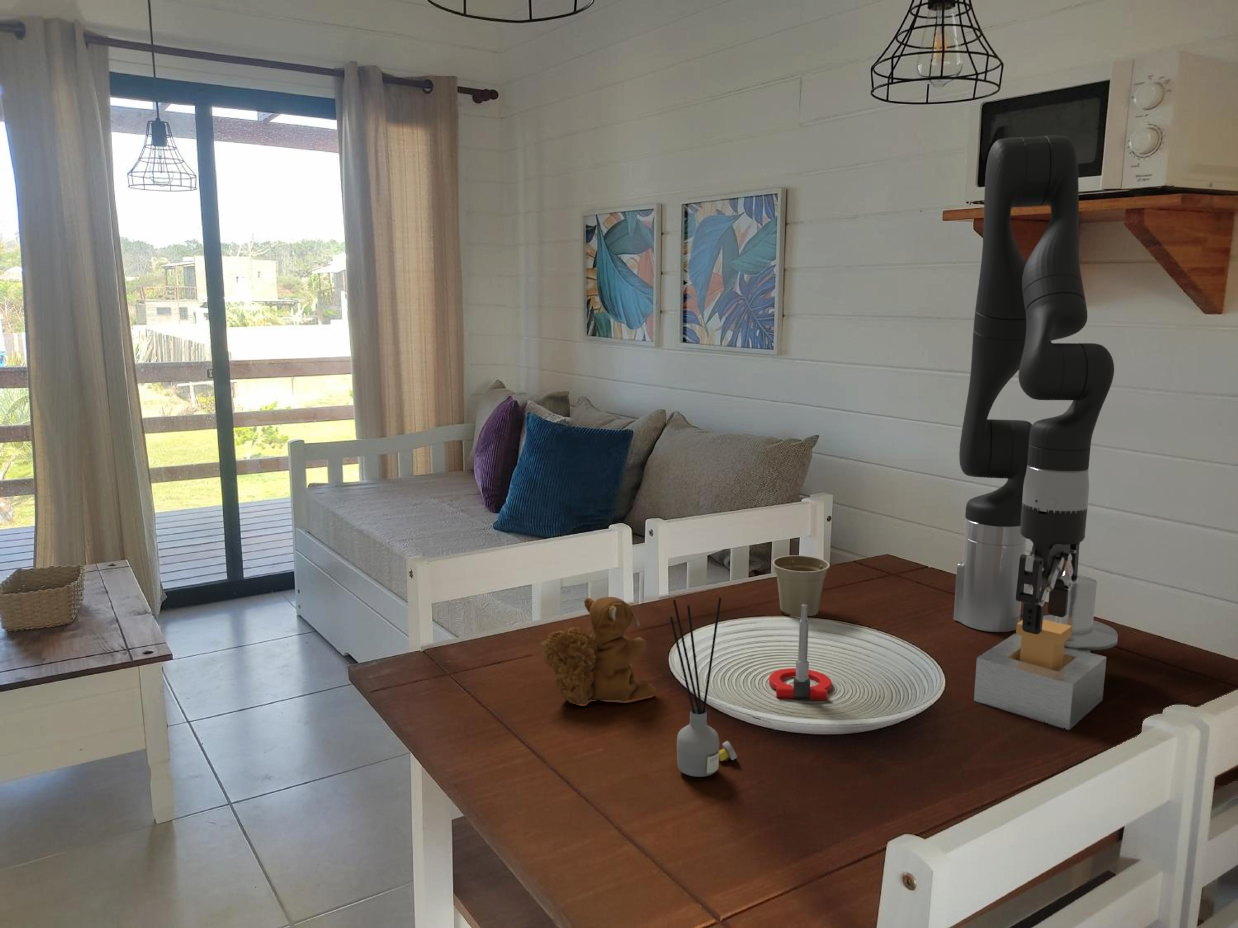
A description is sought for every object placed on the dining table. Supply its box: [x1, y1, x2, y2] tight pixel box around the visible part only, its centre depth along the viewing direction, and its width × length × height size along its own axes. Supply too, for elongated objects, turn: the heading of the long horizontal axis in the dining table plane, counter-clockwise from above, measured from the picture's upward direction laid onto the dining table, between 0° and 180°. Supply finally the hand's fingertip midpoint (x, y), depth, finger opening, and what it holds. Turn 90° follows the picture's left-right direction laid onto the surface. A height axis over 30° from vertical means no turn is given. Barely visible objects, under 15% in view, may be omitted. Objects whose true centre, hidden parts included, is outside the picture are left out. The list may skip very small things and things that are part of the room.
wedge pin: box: [1015, 619, 1072, 671], centre depth 122 cm, size 6×4×10 cm
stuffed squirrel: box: [539, 596, 657, 704], centre depth 124 cm, size 10×14×13 cm
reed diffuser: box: [669, 596, 738, 778], centre depth 104 cm, size 10×7×20 cm
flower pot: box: [771, 554, 831, 618], centre depth 156 cm, size 9×9×9 cm
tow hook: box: [768, 604, 832, 701], centre depth 126 cm, size 8×13×9 cm
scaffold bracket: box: [973, 574, 1119, 731], centre depth 125 cm, size 12×22×14 cm, turn 135°
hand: (1044, 623), depth 121 cm, fingers open, 8 cm apart
